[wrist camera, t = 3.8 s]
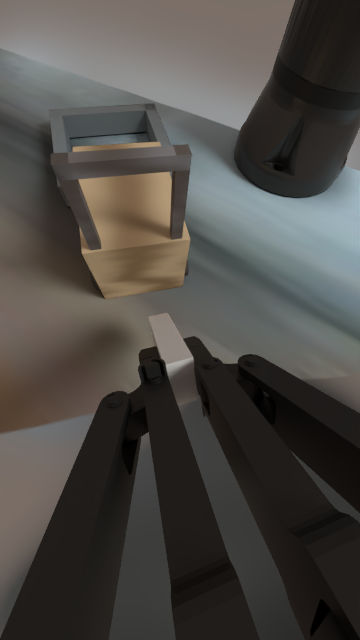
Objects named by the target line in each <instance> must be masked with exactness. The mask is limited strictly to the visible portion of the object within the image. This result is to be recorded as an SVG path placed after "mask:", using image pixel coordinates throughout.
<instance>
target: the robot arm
mask: <svg viewBox="0 0 360 640" xmlns="http://www.w3.org/2000/svg"><path fill="white" fill-rule="evenodd" d="M359 128H360V0H295V3H294V6H293V9H292V12H291V15H290V18H289V21H288V24H287V28H286V31H285V34H284V37H283V40H282V43H281V46H280V49H279V52H278V55H277V58H276V61H275V64H274V68H273V71H272V74H271V76H270V79H269V81H268V83H267V84H266V86H265V88H264V89H263V91H262V93H261V95H260V96H259V98H258V100H257V102H256V103H255V105H254V107H253V109H252V111H251V113H250V114H249V116H248V118H247V120H246V122H245V123H244V124H243V126H242V127H241V130H240V132H239V135H238V139H237V142H236V146H235V150H234V157H235V161H236V163H237V165H238V167H239V169H240V170H241V172H242V173H243V174H244V175H245V176H246V177H247V178H248V179H249V180H251V181H252V182H253V183H255V184H256V185H258V186H260V187H261V188H263V189H265V190H268V191H270V192H273V193H276V194H279V195H283V196H289V197H309V196H314V195H317V194H320V193H322V192H324V191H325V190H327V189H328V188H329V187H330V186H331V185H332V183H333V182H334V181H335V179H336V178H337V177H338V175H339V174H340V173H341V171H342V170H343V168H344V166H345V163H346V160H347V155H348V152H349V150H350V148H351V146H352V144H353V142H354V139H355V137H356V135H357V133H358V130H359ZM148 319H149V323H150V328H151V332H152V337H153V342H154V346H155V347H151V348H147V349H143V350H141V351H140V353H139V361H140V365H139V367H138V371H139V375H140V379H141V385H140V386H139V387H138V388H137V389H136V390H135V391H133V392H131V393H130V394H127V393H126V392H123V391H116V392H113V393H110V394H109V395H107V396H106V397H104V398H103V399H102V401H101V402H100V404H99V406H98V409H97V411H96V414H95V416H94V418H93V421H92V423H91V426H90V428H89V430H88V432H87V435H86V437H85V440H84V442H83V444H82V447H81V449H80V451H79V454H78V456H77V458H76V461H75V463H74V465H73V468H72V470H71V473H70V475H69V477H68V480H67V482H66V484H65V487H64V489H63V492H62V494H61V496H60V499H59V501H58V504H57V506H56V508H55V510H54V513H53V515H52V517H51V520H50V522H49V524H48V527H47V529H46V532H45V534H44V536H43V539H42V541H41V543H40V546H39V548H38V550H37V553H36V555H35V558H34V560H33V562H32V565H31V567H30V569H29V572H28V574H27V576H26V579H25V581H24V583H23V586H22V588H21V591H20V593H19V595H18V598H17V600H16V602H15V605H14V607H13V609H12V612H11V614H10V617H9V619H8V621H7V624H6V626H5V629H4V631H3V633H2V635H1V638H0V640H109V634H110V628H111V622H112V616H113V610H114V603H115V597H116V591H117V585H118V579H119V572H120V567H121V561H122V554H123V548H124V542H125V536H126V529H127V523H128V517H129V511H130V505H131V499H132V492H133V487H134V481H135V475H136V468H137V462H138V456H139V450H140V444H141V436H143V435H144V434H146V433H148V432H149V436H150V443H151V450H152V457H153V463H154V471H155V478H156V484H157V491H158V497H159V505H160V512H161V519H162V526H163V533H164V539H165V546H166V553H167V560H168V566H169V574H170V581H171V603H172V612H173V621H174V628H175V635H176V640H260V639H259V636H258V633H257V631H256V628H255V625H254V622H253V619H252V616H251V613H250V610H249V608H248V604H247V602H246V599H245V596H244V593H243V590H242V587H241V584H240V581H239V579H238V576H237V574H236V571H235V569H234V567H233V565H232V563H231V561H230V560H229V557H228V554H227V551H226V549H225V546H224V543H223V540H222V536H221V534H220V530H219V527H218V525H217V521H216V518H215V515H214V513H213V509H212V507H211V503H210V500H209V497H208V494H207V492H206V488H205V485H204V482H203V479H202V477H201V473H200V470H199V467H198V464H197V461H196V458H195V456H194V453H193V449H192V446H191V444H190V441H189V437H188V434H187V431H186V429H185V426H184V423H183V420H182V417H181V414H180V411H179V408H178V405H181V404H184V403H188V402H191V401H194V400H198V399H199V395H200V397H201V402H202V410H203V416H204V417H205V413H206V415H207V418H208V420H209V422H210V424H211V426H212V428H213V431H214V433H215V435H216V437H217V439H218V441H219V443H220V445H221V448H222V450H223V452H224V454H225V457H226V459H227V461H228V463H229V465H230V467H231V470H232V472H233V474H234V476H235V478H236V480H237V482H238V485H239V487H240V489H241V491H242V493H243V495H244V498H245V500H246V502H247V504H248V506H249V508H250V511H251V513H252V515H253V517H254V519H255V521H256V523H257V525H258V528H259V530H260V532H261V534H262V536H263V539H264V540H265V543H266V545H267V547H268V549H269V552H270V554H271V556H272V558H273V560H274V562H275V564H276V566H277V569H278V571H279V573H280V576H281V578H282V581H283V583H284V587H285V590H286V594H287V596H288V600H289V603H290V606H291V608H292V611H293V613H294V616H295V618H296V621H297V623H298V625H299V628H300V630H301V632H302V634H303V636H304V639H305V640H360V523H359V522H358V521H357V520H355V519H354V518H353V517H351V516H350V515H348V514H345V513H341V512H339V511H338V510H337V509H335V508H334V507H333V505H332V504H331V503H330V502H329V501H328V500H327V498H326V497H325V495H324V494H323V493H322V492H321V490H320V489H319V488H318V486H317V485H316V484H315V482H314V481H313V480H312V479H311V477H310V476H309V475H308V473H307V472H306V471H305V470H304V468H303V467H302V466H301V464H300V463H299V462H298V460H297V459H296V458H295V456H294V455H293V454H292V453H291V451H292V452H293V453H294V454H295V455H296V456H297V457H298V458H300V459H301V460H302V461H303V462H304V463H305V464H306V465H307V466H308V467H310V468H311V469H312V470H313V471H314V472H315V473H316V474H317V475H318V476H320V477H321V478H322V479H323V480H324V481H325V482H326V483H327V484H328V485H329V486H331V487H332V488H333V489H334V490H335V491H336V492H337V493H338V494H339V495H341V496H342V497H343V498H344V499H345V500H346V501H347V502H348V503H349V504H350V505H352V506H353V507H354V508H355V509H356V510H357V511H358V512H359V513H360V413H358V412H356V411H354V410H353V409H351V408H349V407H347V406H346V405H344V404H342V403H340V402H339V401H337V400H335V399H333V398H332V397H330V396H328V395H326V394H325V393H323V392H321V391H320V390H318V389H316V388H314V387H313V386H311V385H309V384H307V383H306V382H304V381H302V380H300V379H299V378H297V377H295V376H293V375H292V374H290V373H288V372H287V371H285V370H283V369H281V368H280V367H278V366H276V365H274V364H273V363H271V362H269V361H267V360H266V359H264V358H262V357H260V356H258V355H253V354H248V355H244V356H241V357H240V358H239V359H238V364H223V363H222V361H221V360H219V359H218V358H215V357H212V355H211V354H210V353H209V351H208V350H207V348H206V347H205V346H204V344H203V343H202V342H201V340H200V339H199V338H197V337H195V336H193V337H189V338H185V339H182V337H181V335H180V333H179V332H178V330H177V328H176V326H175V325H174V323H173V321H172V320H171V318H170V316H169V314H168V313H163V314H158V315H154V316H150V317H148ZM198 393H199V395H198ZM266 393H267V394H266ZM289 449H290V450H291V451H290V450H289Z"/></svg>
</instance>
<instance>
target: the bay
mask: <svg viewBox="0 0 360 640" xmlns="http://www.w3.org/2000/svg"><path fill="white" fill-rule="evenodd" d="M49 115H50V124H51V133H52V142H53V151H54V153H65V152H72V150H71V144H70V138H74V137H86V136H98V135H110V134H122V133H134V132H147V133H148V136H149V138H150V141H151V142H160V144H161V146H171V144H170V142H169V139H168V137H167V134H166V132H165V129H164V127H163V124H162V122H161V119H160V117H159V115H158V112H157V110H156V107H155V105H154V103H153V104H137V105H120V106H104V107H88V108H71V109H55V110H49ZM169 173H170V176H171V179H172V172H169ZM56 178H57V177H56ZM57 187H58V189H59V191H60V193H61V195H62V197H63V199H64V201H65V204H66V206H70V205H69V203H68V201H67V199H66V196H65V194H64V192H63V190H62V188H61V185H60V183H59V181H58V179H57Z"/></svg>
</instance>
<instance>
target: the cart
mask: <svg viewBox="0 0 360 640" xmlns="http://www.w3.org/2000/svg"><path fill="white" fill-rule="evenodd" d="M191 156H192V154H191V151H190V149H189V146H188V145H172V146H161V144H160V142H145V143H129V144H113V145H97V146H80V147H73V152H65V153H51V166H52V168H53V170H54V172H55V175H56V177H57V179H58V181H59V183H60V185H61V188H62V190H63V192H64V194H65V196H66V199H67V201H68V203H69V205H70V207H71V209H72V212H73V214H74V216H75V218H76V220H77V222H78V225H79V227H80V238H81V249H82V255H83V257H84V259H85V261H86V263H87V265H88V266H89V268H90V273H91V278H92V282H93V285H94V287H95V289H96V290H98V289H101V291H102V293H103V295H104V297H105V299H110V298H116V297H122V296H128V295H134V294H140V293H146V292H152V291H158V290H164V289H170V288H176V287H182V286H183V281H184V276H186V275H188V260H187V257H188V250H189V244H190V237H189V234H188V230H187V227H186V224H185V221H184V217H185V209H186V200H187V191H188V182H189V174H190V165H191ZM169 172H172V179H171V176H170V173H169Z"/></svg>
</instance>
